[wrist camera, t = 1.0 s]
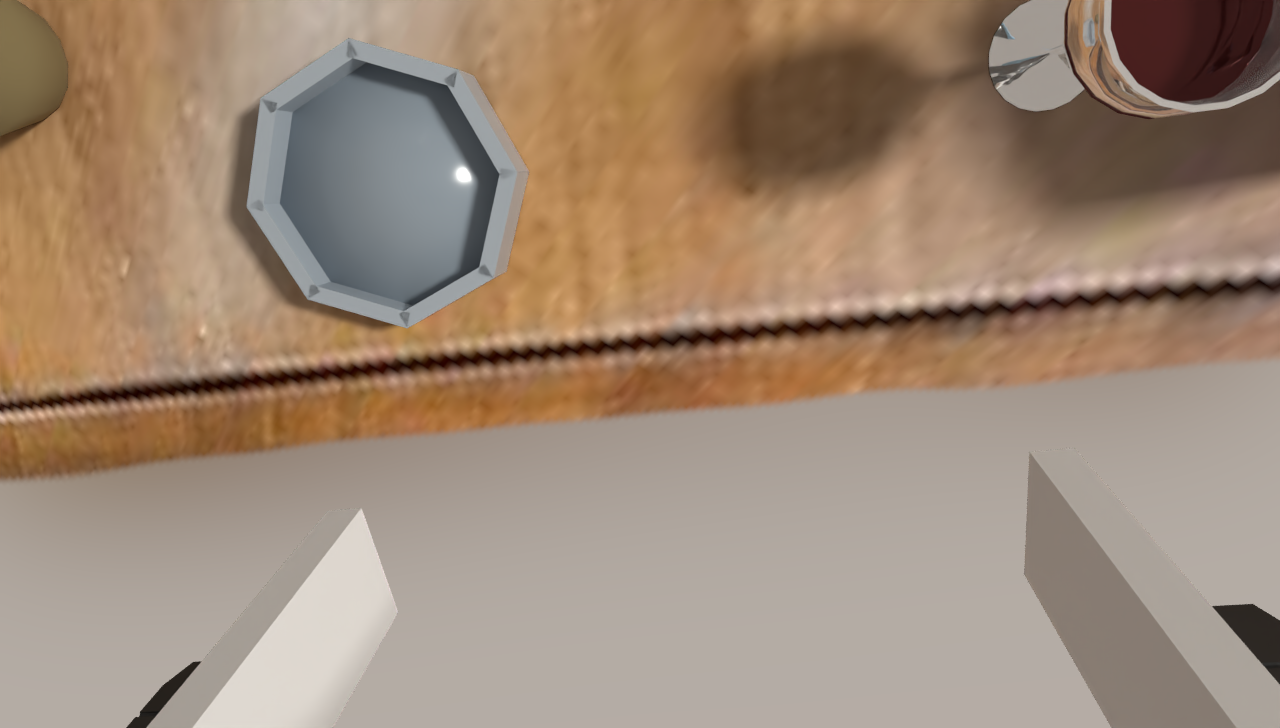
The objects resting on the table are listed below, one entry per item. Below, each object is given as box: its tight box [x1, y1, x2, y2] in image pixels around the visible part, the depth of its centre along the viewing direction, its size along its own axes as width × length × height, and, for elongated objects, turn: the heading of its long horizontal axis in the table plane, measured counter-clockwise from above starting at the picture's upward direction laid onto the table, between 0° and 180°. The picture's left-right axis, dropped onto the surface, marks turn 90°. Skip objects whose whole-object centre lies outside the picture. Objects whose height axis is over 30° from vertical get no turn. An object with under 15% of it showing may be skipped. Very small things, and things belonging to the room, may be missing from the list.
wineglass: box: [989, 0, 1280, 119], centre depth 29 cm, size 7×7×12 cm
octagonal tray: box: [247, 38, 529, 328], centre depth 37 cm, size 13×13×2 cm
